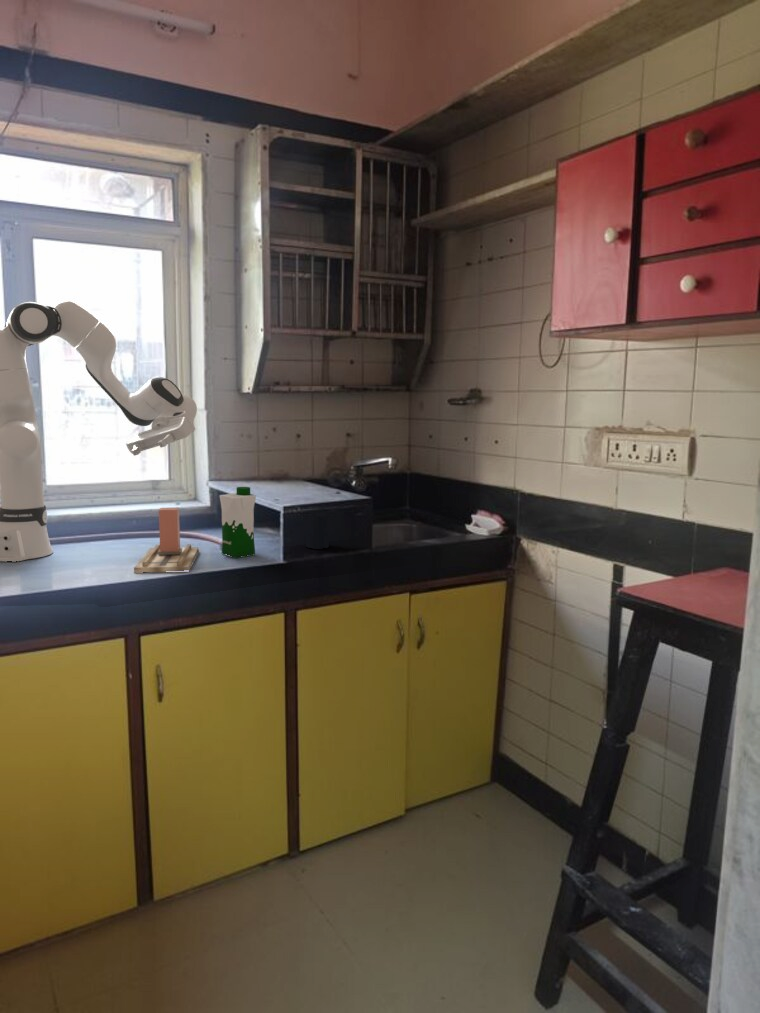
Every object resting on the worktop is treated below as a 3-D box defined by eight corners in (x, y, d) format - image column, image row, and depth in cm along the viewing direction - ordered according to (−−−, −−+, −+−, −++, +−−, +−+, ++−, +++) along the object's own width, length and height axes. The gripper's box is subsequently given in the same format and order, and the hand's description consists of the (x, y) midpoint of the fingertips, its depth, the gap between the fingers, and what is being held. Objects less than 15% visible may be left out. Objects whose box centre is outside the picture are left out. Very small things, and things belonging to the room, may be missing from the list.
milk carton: (259, 554, 210) (258, 488, 207) (233, 559, 203) (232, 491, 200) (242, 549, 216) (241, 485, 213) (217, 554, 210) (215, 487, 206)
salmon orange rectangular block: (158, 554, 200) (156, 510, 198) (161, 550, 205) (159, 507, 203) (179, 554, 201) (178, 510, 199) (182, 550, 206) (180, 507, 204)
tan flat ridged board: (134, 573, 186) (133, 563, 186) (150, 552, 210) (150, 544, 209) (188, 572, 188) (188, 562, 188) (198, 552, 212) (198, 543, 211)
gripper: (134, 427, 215) (113, 448, 204) (190, 409, 209) (171, 430, 197) (144, 445, 218) (124, 466, 207) (200, 428, 212) (182, 449, 200)
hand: (147, 449), depth 202 cm, fingers open, 8 cm apart
